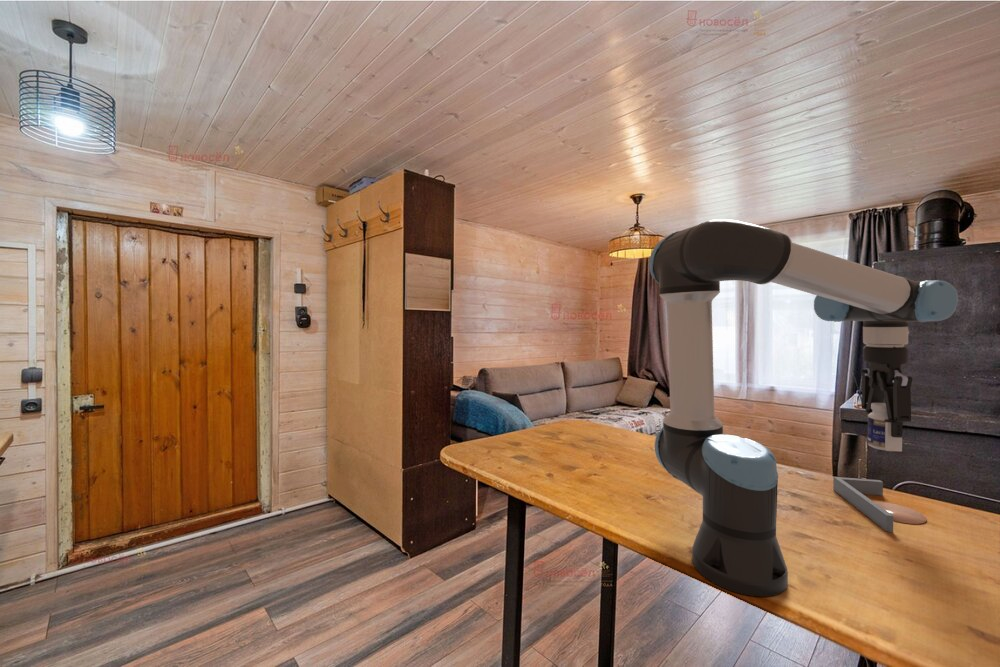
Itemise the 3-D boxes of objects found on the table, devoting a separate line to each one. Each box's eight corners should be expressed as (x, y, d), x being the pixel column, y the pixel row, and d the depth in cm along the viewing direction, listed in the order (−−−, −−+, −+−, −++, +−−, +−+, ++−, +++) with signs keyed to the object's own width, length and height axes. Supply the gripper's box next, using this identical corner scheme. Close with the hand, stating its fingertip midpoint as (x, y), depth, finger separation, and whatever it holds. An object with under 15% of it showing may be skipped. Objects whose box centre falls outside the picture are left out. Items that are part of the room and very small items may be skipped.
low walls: (945, 537, 85) (946, 520, 85) (886, 531, 88) (886, 515, 88) (879, 493, 106) (880, 480, 106) (833, 489, 109) (833, 476, 109)
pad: (938, 526, 90) (938, 524, 90) (883, 521, 92) (883, 519, 92) (906, 505, 99) (906, 504, 99) (857, 501, 102) (857, 500, 102)
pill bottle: (872, 449, 93) (872, 406, 93) (864, 442, 98) (864, 401, 98) (906, 453, 90) (906, 408, 90) (896, 445, 96) (896, 403, 95)
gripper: (937, 348, 83) (935, 461, 84) (879, 342, 101) (878, 435, 102) (892, 349, 85) (891, 459, 86) (843, 342, 103) (842, 433, 104)
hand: (884, 445), depth 94 cm, fingers closed on pill bottle, 6 cm apart
